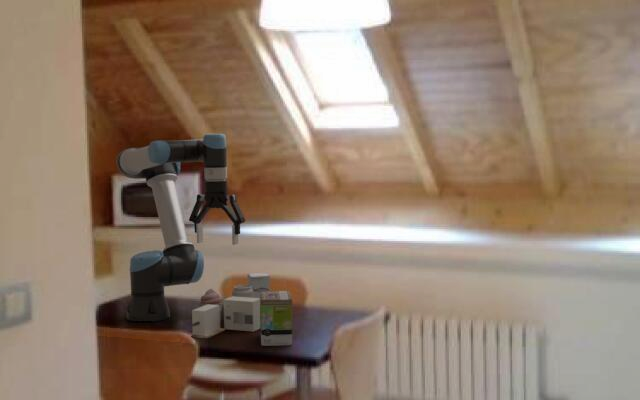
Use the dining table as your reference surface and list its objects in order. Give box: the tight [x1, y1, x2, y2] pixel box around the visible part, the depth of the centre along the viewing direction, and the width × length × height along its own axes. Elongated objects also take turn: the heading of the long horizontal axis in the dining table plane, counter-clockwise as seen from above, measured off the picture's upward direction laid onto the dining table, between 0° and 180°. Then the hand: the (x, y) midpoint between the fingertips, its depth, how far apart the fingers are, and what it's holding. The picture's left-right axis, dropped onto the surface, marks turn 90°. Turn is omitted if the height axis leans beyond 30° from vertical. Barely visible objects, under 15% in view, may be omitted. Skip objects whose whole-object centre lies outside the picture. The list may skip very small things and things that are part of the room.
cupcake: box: [197, 288, 224, 312], centre depth 327 cm, size 9×9×10 cm
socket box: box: [223, 295, 260, 333], centre depth 307 cm, size 11×6×10 cm, turn 67°
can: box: [231, 284, 254, 298], centre depth 320 cm, size 8×8×12 cm
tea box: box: [259, 290, 293, 347], centre depth 290 cm, size 15×10×15 cm, turn 5°
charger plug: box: [191, 304, 223, 336], centre depth 300 cm, size 4×16×8 cm, turn 157°
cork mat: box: [189, 327, 226, 339], centre depth 301 cm, size 7×12×1 cm, turn 157°
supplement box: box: [246, 272, 271, 298], centre depth 339 cm, size 7×7×13 cm
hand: (217, 243), depth 306 cm, fingers open, 13 cm apart
